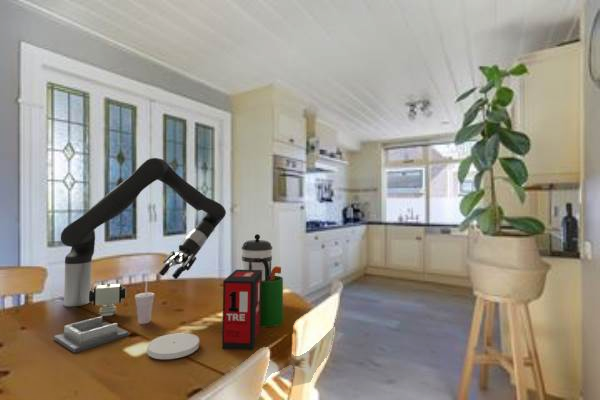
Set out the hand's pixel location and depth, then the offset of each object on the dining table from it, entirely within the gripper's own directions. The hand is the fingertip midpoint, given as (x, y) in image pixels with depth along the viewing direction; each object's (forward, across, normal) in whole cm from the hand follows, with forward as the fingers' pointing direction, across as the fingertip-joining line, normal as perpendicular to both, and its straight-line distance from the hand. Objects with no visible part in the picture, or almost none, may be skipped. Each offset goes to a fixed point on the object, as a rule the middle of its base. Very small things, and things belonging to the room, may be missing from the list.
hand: (167, 276), depth 122 cm
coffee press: (-9, +21, +30) cm, 38 cm away
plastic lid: (+22, +28, 0) cm, 36 cm away
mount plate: (+29, 0, -8) cm, 30 cm away
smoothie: (+17, 0, +4) cm, 17 cm away
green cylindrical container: (-2, +36, +23) cm, 43 cm away
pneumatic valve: (+20, -18, +2) cm, 27 cm away
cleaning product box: (+9, +38, +12) cm, 41 cm away
